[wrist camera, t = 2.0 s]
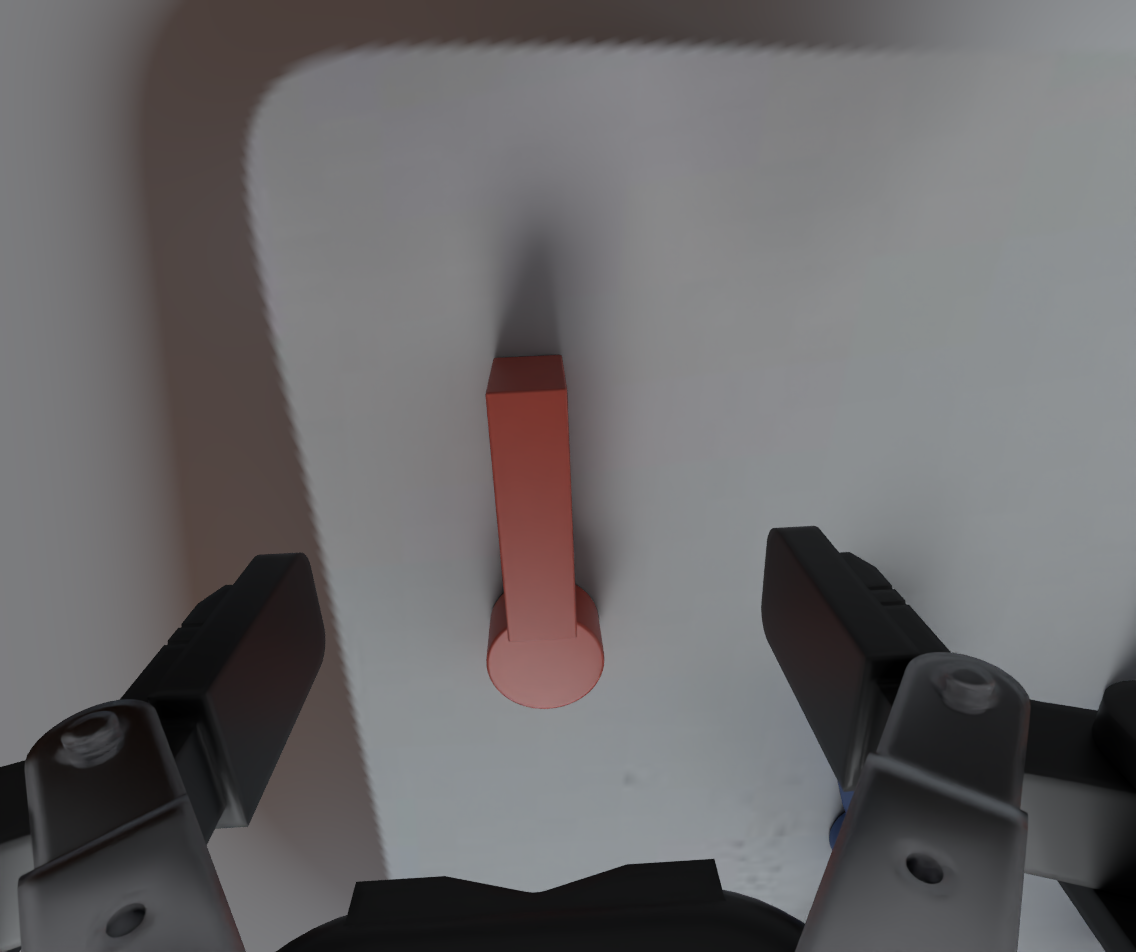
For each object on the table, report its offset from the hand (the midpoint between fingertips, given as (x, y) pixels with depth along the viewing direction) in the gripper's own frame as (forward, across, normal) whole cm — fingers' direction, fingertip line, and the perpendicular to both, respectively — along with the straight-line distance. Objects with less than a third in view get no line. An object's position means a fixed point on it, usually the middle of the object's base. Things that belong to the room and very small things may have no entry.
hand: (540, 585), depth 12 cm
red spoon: (+6, 0, +2) cm, 6 cm away
